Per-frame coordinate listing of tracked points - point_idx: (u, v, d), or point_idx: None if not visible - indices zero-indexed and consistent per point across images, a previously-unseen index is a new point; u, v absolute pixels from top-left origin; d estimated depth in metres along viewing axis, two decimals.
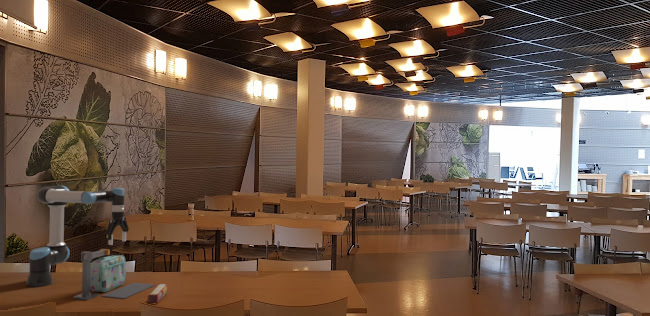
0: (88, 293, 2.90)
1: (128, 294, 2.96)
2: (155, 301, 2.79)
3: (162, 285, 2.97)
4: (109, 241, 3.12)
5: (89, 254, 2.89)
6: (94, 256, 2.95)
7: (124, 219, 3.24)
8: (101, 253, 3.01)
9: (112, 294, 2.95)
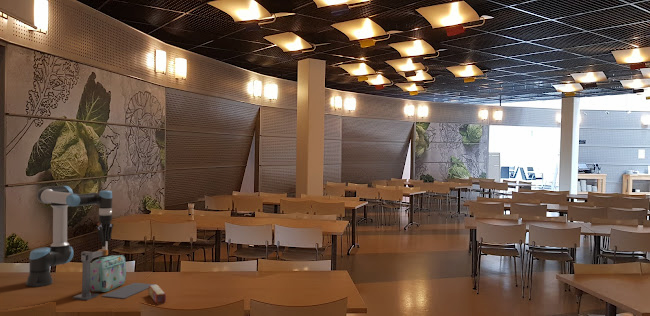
0: (88, 293, 2.90)
1: (128, 294, 2.96)
2: (164, 300, 2.81)
3: (155, 285, 2.96)
4: (103, 248, 3.06)
5: (89, 254, 2.89)
6: (92, 256, 2.93)
7: (111, 225, 3.11)
8: (99, 253, 2.99)
9: (112, 294, 2.95)
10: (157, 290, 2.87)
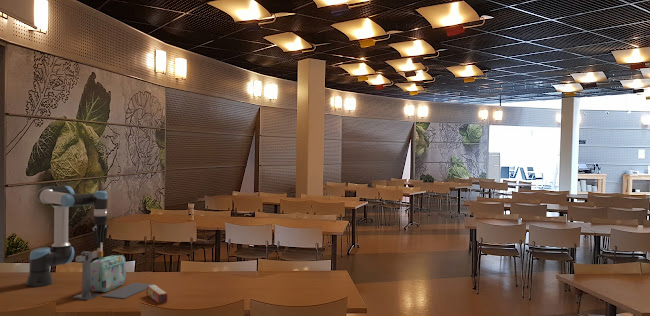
0: (88, 293, 2.90)
1: (128, 294, 2.96)
2: (165, 300, 2.82)
3: (154, 285, 2.96)
4: (98, 249, 3.01)
5: (89, 254, 2.89)
6: None
7: (106, 226, 3.06)
8: (94, 255, 2.95)
9: (112, 294, 2.95)
10: (157, 290, 2.87)
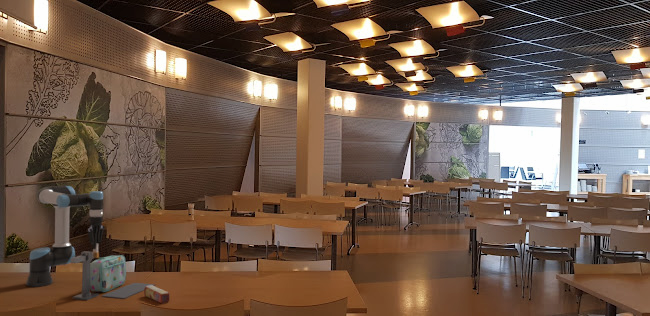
0: (88, 293, 2.90)
1: (128, 294, 2.96)
2: (168, 299, 2.83)
3: (152, 286, 2.95)
4: (93, 251, 2.97)
5: (89, 254, 2.89)
6: (82, 259, 2.85)
7: (102, 227, 3.02)
8: None
9: (112, 294, 2.95)
10: (158, 290, 2.87)
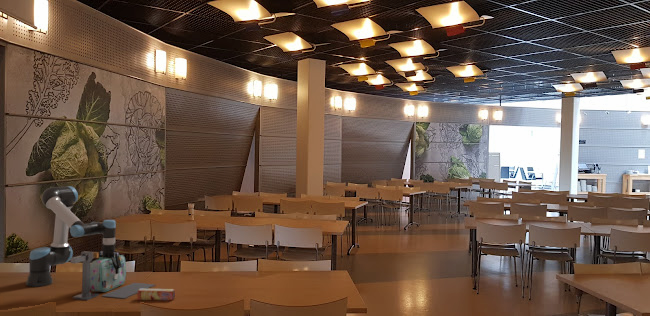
0: (88, 293, 2.90)
1: (128, 294, 2.96)
2: (174, 295, 2.91)
3: (144, 288, 2.89)
4: None
5: (89, 254, 2.89)
6: (82, 259, 2.85)
7: (115, 255, 3.08)
8: None
9: (112, 294, 2.95)
10: (161, 289, 2.88)
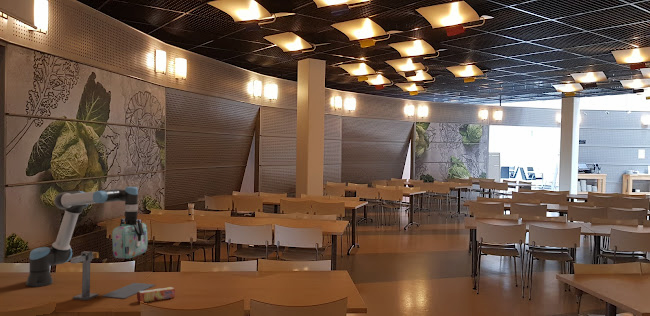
0: (88, 293, 2.90)
1: (128, 294, 2.96)
2: None
3: None
4: None
5: (89, 254, 2.89)
6: (82, 259, 2.85)
7: (137, 221, 3.04)
8: None
9: (112, 294, 2.95)
10: (162, 289, 2.90)
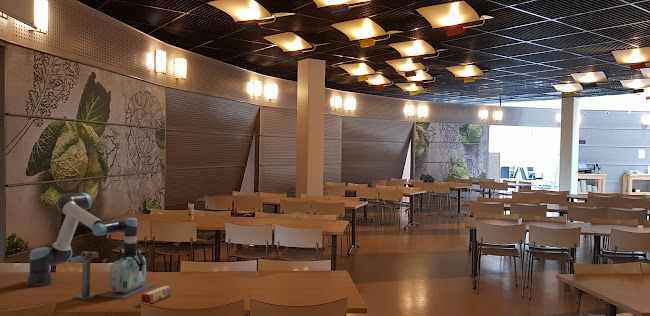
0: (88, 293, 2.90)
1: (128, 294, 2.96)
2: None
3: (148, 292, 2.82)
4: None
5: (89, 254, 2.89)
6: (82, 259, 2.85)
7: (137, 252, 3.04)
8: None
9: (112, 294, 2.95)
10: (161, 288, 2.91)
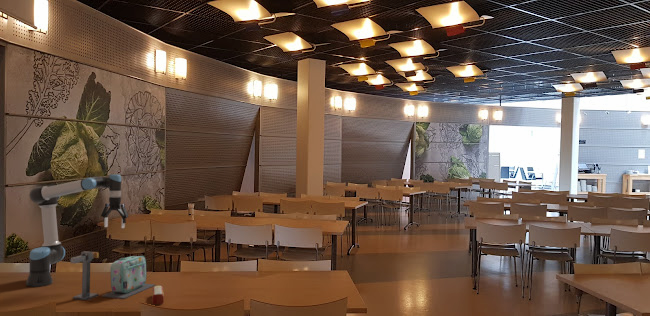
0: (88, 293, 2.90)
1: (128, 294, 2.96)
2: None
3: (156, 292, 2.81)
4: None
5: (89, 254, 2.89)
6: (82, 259, 2.85)
7: (121, 206, 3.28)
8: None
9: (112, 294, 2.95)
10: (159, 288, 2.91)
